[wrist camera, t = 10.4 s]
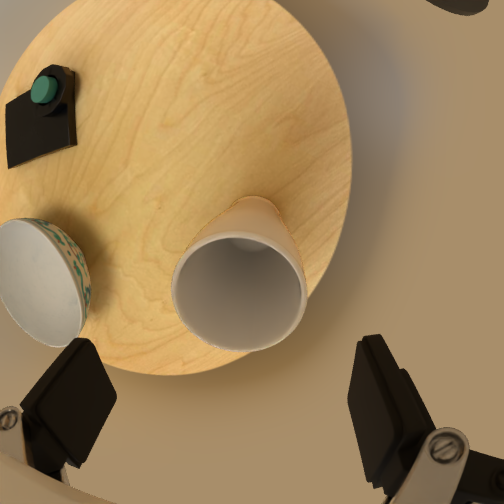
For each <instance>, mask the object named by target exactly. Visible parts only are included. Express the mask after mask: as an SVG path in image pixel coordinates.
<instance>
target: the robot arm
mask: <svg viewBox="0 0 504 504" xmlns="http://www.w3.org/2000/svg"><path fill="white" fill-rule="evenodd" d="M116 399H117V394H116V391H115V389H114V387H113V385H112V383H111V381H110V379H109V377H108V375H107V373H106V371H105V369H104V366H103V364H102V362H101V359H100V357H99V355H98V353H97V350H96V348H95V346H94V344H93V343H92V342H91V341H90V340H89V339H87V338H78V337H76V338H74V339H73V340H72V341H71V342H70V343H69V345H68V346H67V347H66V348H65V349H64V350H63V351H62V353H61V354H60V355H59V356H58V357H57V359H56V360H55V361H54V362H53V363H52V364H51V366H50V367H49V368H48V369H47V370H46V372H45V373H44V374H43V376H42V377H41V378H40V379H39V380H38V382H37V383H36V384H35V385H34V387H33V388H32V389H31V390H30V392H29V393H28V394H27V395H26V397H25V398H24V399H23V401H22V402H21V403H20V406H21V407H22V409H23V410H24V411H23V413H21V412H20V410H19V409H18V408H16V407H14V406H9V407H5V408H3V409H2V410H0V504H116V503H113V502H109V501H107V500H104V499H101V498H98V497H96V496H93V495H90V494H88V493H85V492H82V491H80V490H78V489H75V488H73V487H71V486H70V484H69V480H68V477H67V473H66V470H65V466H64V464H65V462H67V463H68V464H69V465H71V466H74V467H76V468H78V469H80V466H81V465H82V463H84V462H85V461H86V460H87V457H88V455H89V453H90V451H91V449H92V447H93V445H94V443H95V441H96V439H97V437H98V435H99V433H100V431H101V429H102V427H103V425H104V423H105V421H106V419H107V417H108V415H109V414H110V412H111V410H112V408H113V406H114V404H115V402H116ZM347 399H348V406H349V410H350V414H351V418H352V422H353V426H354V430H355V434H356V438H357V442H358V446H359V450H360V455H361V458H362V463H363V467H364V472H365V476H366V480H367V482H372V484H373V488H374V489H375V488H379V487H383V490H384V494H385V495H387V496H386V497H385V499H384V500H383V502H382V504H504V460H503V459H499V458H496V457H492V456H489V455H486V454H482V453H479V452H476V451H473V450H470V449H469V442H468V439H467V438H466V436H465V435H464V434H463V433H462V432H461V431H459V430H457V429H455V428H450V427H444V428H439V429H436V427H435V425H434V423H433V421H432V419H431V417H430V415H429V413H428V411H427V409H426V407H425V405H424V403H423V401H422V399H421V397H420V395H419V393H418V391H417V389H416V387H415V385H414V383H413V381H412V379H411V378H410V375H409V374H408V372H407V371H406V370H405V369H404V368H403V369H399V367H398V365H397V363H396V361H395V359H394V357H393V356H392V354H391V352H390V350H389V348H388V346H387V344H386V343H385V341H384V339H383V337H382V336H381V335H380V334H376V335H368V336H364V337H363V339H362V341H358V342H357V347H356V353H355V359H354V365H353V371H352V376H351V381H350V386H349V392H348V398H347Z"/></svg>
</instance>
